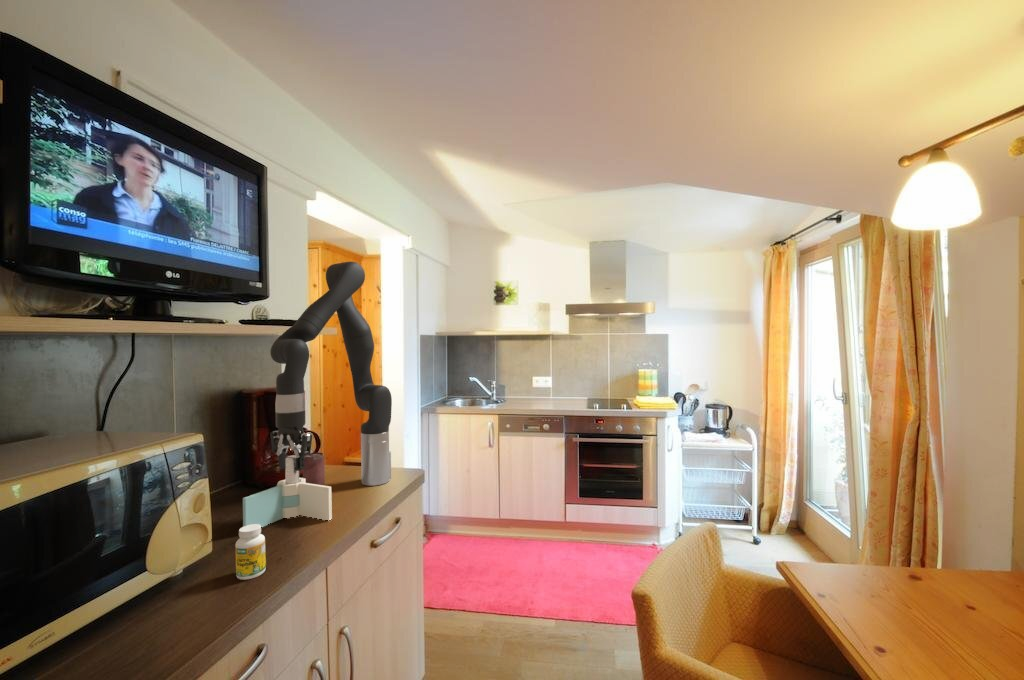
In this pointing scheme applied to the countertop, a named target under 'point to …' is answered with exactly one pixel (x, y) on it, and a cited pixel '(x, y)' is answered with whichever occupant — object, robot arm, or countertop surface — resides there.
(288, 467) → the hinge pin
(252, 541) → the supplement bottle
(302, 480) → the white hinge leaf
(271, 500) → the leaf
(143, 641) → the countertop surface
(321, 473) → the can
